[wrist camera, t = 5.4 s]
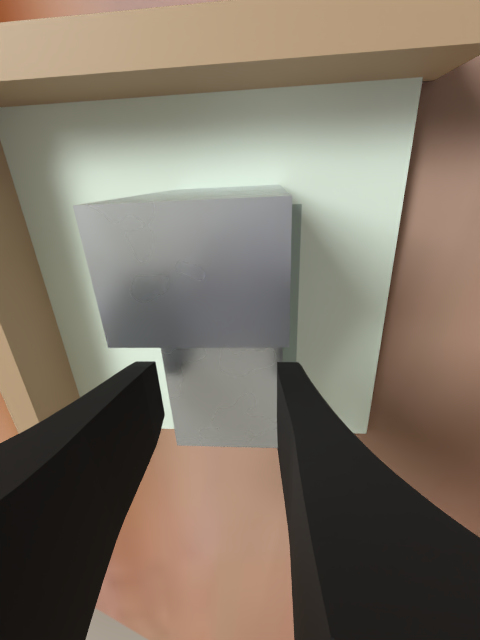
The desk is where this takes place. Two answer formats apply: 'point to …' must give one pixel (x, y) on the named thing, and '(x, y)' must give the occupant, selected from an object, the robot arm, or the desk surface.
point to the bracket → (200, 299)
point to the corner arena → (213, 166)
